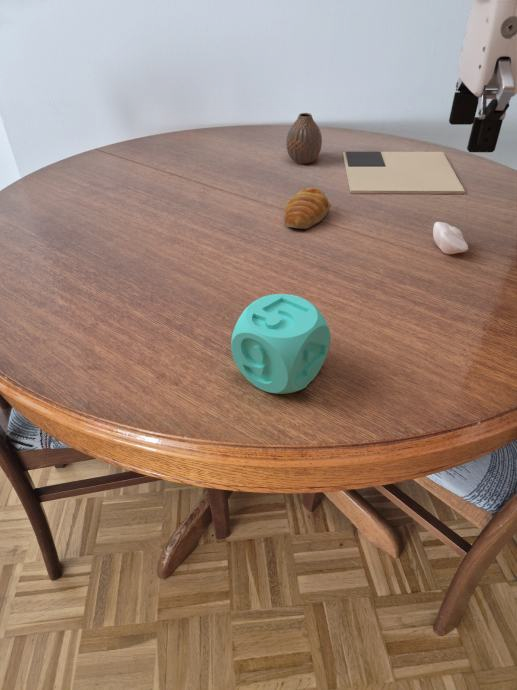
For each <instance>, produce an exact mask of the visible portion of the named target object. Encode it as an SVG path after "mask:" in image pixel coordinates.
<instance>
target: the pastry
mask: <svg viewBox="0 0 517 690" xmlns="http://www.w3.org/2000/svg"><path fill="white" fill-rule="evenodd" d="M331 207H332V205H331V202H330V201H329V199H328V197H327V195H326V194H325V192H324V191H323V190H321V189H320V188H316V187H308V188H302V189H301V190H299V191H297V193H296V194H295V195H293V196H292V197H291V198H290V199H289V200H288V202H287V204H286V206H285V210H284V223H285V226H286V227H287V228H294V229H299V230H301V229H302V230H305V229H306V230H307V229H310V228H311V227H312V226H315V225H317V224H319V223H320V222H321V221H322V220H323V219H324V218H325V217H327V215H328V212H329V211H330V209H331Z"/></svg>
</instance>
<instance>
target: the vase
mask: <svg viewBox="0 0 517 690" xmlns="http://www.w3.org/2000/svg"><path fill="white" fill-rule="evenodd" d="M322 144H323V137H322V132H321V129H320V128H319V126H318V124H317V123H316V122H315V120H314V118H313V115H312V114H311V113H309V112H301V113H299V114H298V116H297V118H296V120H295V121H294V122H293V124H292V125H291V126H290V128H289V130H288V131H287V135H286V145H285V146H286V151H287V154H288V156H289V158H290V159H291V160H292V161H293V162H294V163H296V164H298V165H299V164H301V165H309V164H311V163H313V162H314V161H315V160H316V159H317V158H318V157H319V155H320V154H321V150H322Z"/></svg>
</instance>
